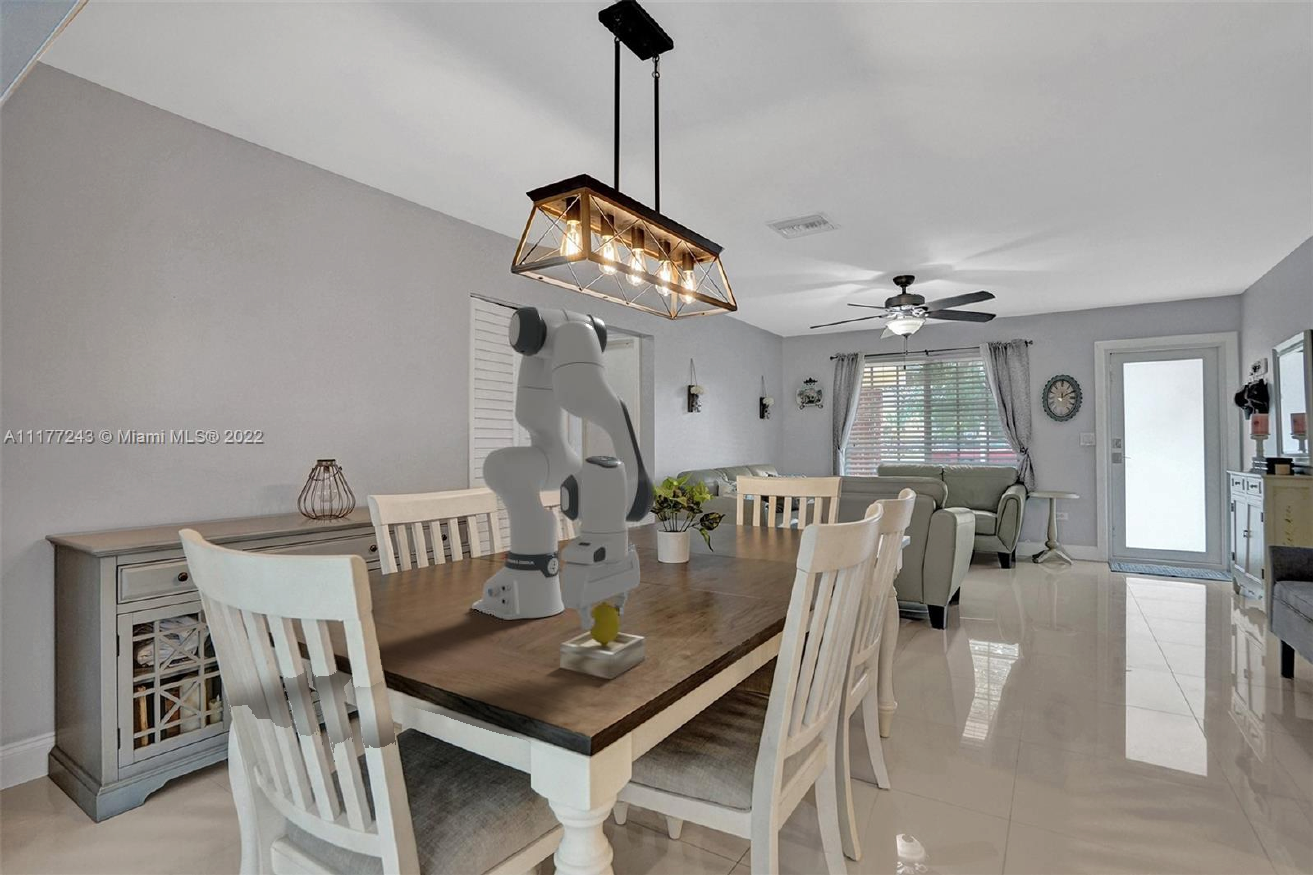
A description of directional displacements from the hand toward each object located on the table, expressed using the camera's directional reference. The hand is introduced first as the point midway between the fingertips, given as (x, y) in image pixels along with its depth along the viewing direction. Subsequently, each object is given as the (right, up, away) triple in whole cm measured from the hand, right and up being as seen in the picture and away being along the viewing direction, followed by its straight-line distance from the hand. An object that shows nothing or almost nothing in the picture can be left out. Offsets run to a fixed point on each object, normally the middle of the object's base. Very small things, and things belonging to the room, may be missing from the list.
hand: (603, 621), depth 116 cm
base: (0, -8, 0) cm, 8 cm away
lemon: (0, -5, 0) cm, 5 cm away
